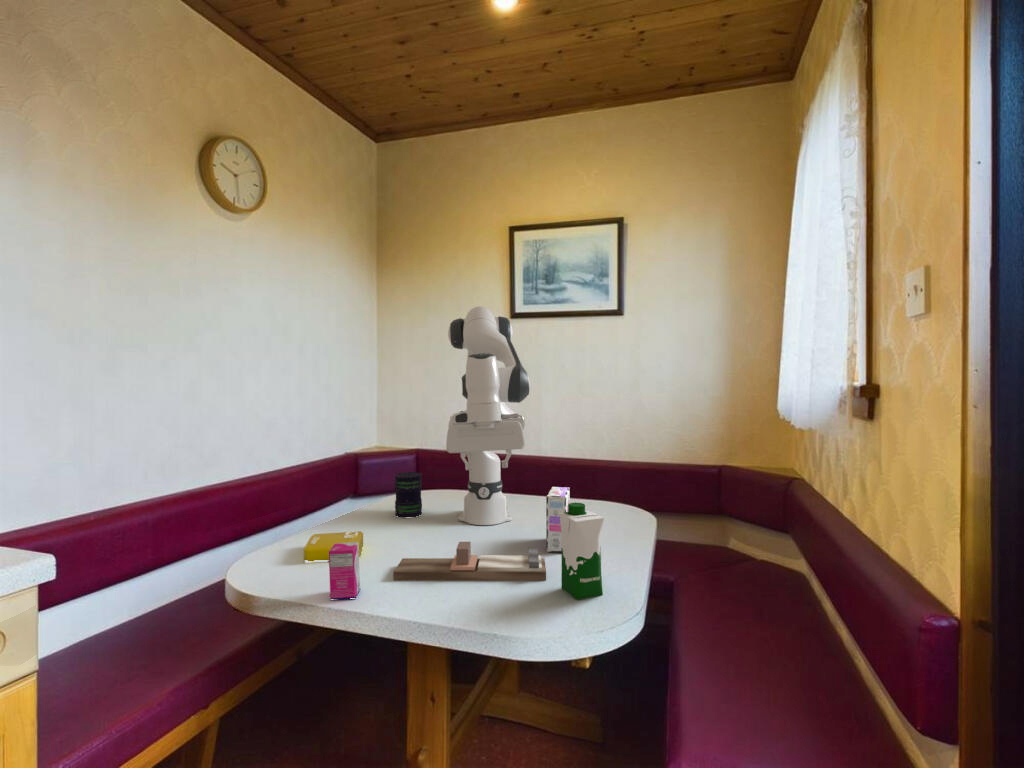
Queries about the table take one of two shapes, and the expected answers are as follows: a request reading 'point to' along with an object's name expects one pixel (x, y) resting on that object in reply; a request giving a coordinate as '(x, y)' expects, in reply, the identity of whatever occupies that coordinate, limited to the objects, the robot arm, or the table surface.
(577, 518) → the milk carton
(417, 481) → the storage jar
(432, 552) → the table surface
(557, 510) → the candy box
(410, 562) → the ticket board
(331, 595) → the supplement box
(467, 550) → the pink plate with handle
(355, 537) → the element tile
